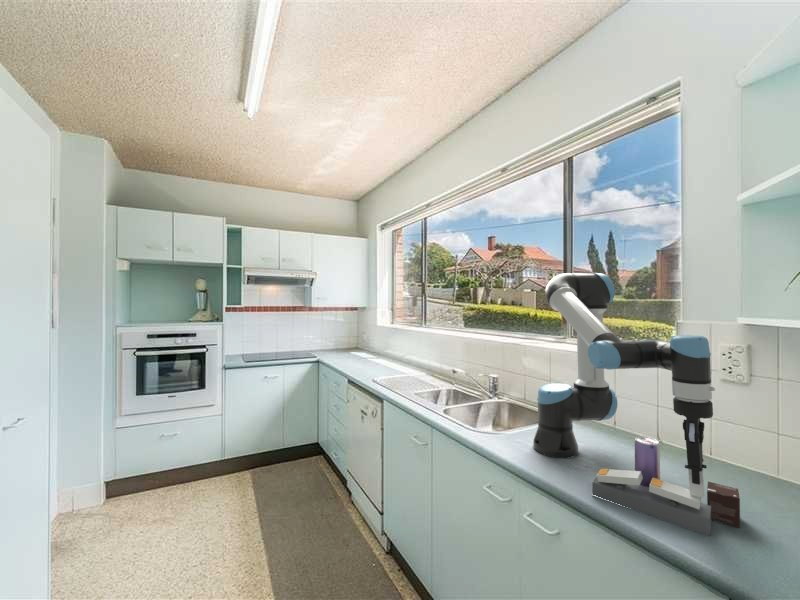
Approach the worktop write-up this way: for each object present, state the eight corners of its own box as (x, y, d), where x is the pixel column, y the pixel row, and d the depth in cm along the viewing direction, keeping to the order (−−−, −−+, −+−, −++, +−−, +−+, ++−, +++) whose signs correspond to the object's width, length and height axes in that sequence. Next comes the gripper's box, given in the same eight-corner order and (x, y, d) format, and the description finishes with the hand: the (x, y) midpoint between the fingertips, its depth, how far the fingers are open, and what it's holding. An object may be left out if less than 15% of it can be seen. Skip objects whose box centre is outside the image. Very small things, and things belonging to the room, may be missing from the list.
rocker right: (648, 491, 92) (649, 483, 92) (652, 483, 96) (652, 476, 96) (699, 509, 85) (699, 501, 85) (700, 500, 89) (701, 492, 89)
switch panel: (592, 496, 101) (592, 479, 101) (599, 486, 106) (599, 470, 106) (709, 536, 83) (709, 515, 83) (711, 522, 89) (711, 502, 89)
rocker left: (598, 481, 100) (596, 474, 101) (603, 475, 104) (601, 467, 104) (639, 485, 94) (637, 477, 94) (642, 478, 97) (640, 470, 98)
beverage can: (649, 499, 98) (648, 445, 98) (629, 488, 104) (629, 437, 104) (665, 496, 100) (665, 442, 100) (645, 485, 106) (645, 435, 106)
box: (739, 517, 90) (739, 488, 90) (740, 529, 86) (740, 499, 86) (707, 508, 94) (707, 480, 94) (707, 519, 90) (706, 490, 90)
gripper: (711, 407, 81) (716, 512, 80) (713, 395, 90) (718, 489, 90) (669, 402, 86) (674, 501, 85) (676, 391, 95) (680, 480, 95)
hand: (697, 495), depth 88 cm, fingers closed
